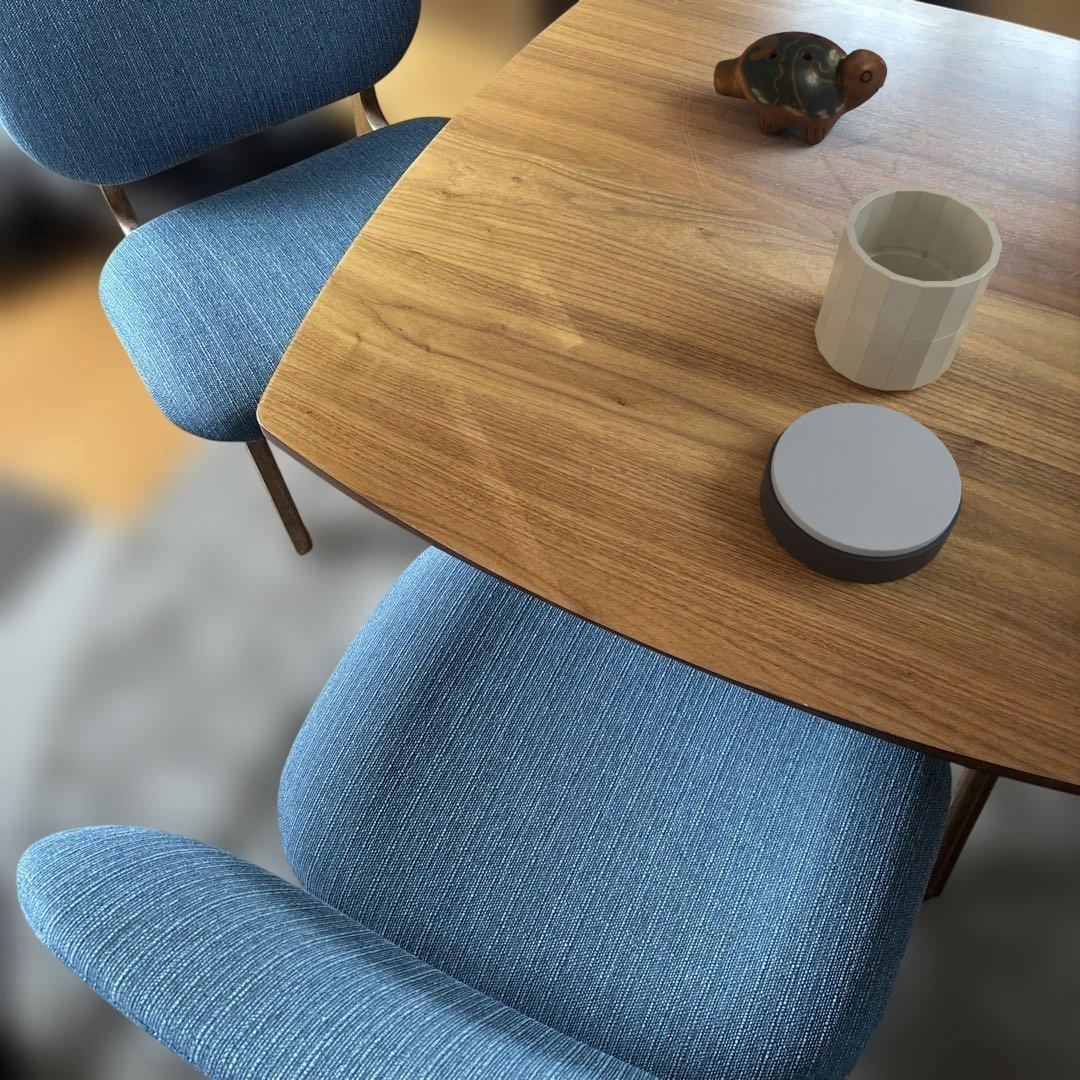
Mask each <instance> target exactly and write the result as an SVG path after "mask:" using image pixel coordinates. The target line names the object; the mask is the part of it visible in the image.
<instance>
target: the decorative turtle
mask: <svg viewBox="0 0 1080 1080" xmlns="http://www.w3.org/2000/svg"><path fill="white" fill-rule="evenodd" d="M887 76H888V66H887V63H886V61H885V60H884V58H883V57H882V56H880V55H879V54H878V53H876V52H875V51H874V50H873V51H872V50H870V49H866V48H857V49H854V50H852V51H851V52H849V53H847V52H846V51H845V50H844V49H843V48H842V47H841V46H840V45H838V44H837V43H836V42H834V41H833V40H831V39H829V38H827V37H825V36H823V35H820V34H818V33H817V34H816V33H812V32H807V31H799V30H798V31H797V30H796V31H793V30H791V31H782V32H781V31H780V32H775V33H771V34H768V35H765V36H764V35H763V37H760V38H758V39H757V40H754V41H753V42H752V43H750V44H749V46H747V47H746V48H745V49H744V50H743V52H742V53H741V54H740V55H739V56H737V57H735V58H729V59H723V60H720V61H718V62H717V63H716V65H715V67H714V70H713V87H714V91H715V92H716V93H717V94H718V95H721V96H724V97H728V98H734V99H741V100H742V99H743V100H746V101H747V102H748V104H749V105H750V107H751V108H752V109H753V111H754V112H755V117H756V122H757V125H758V128H759V130H760V131H761V133H763V134H764V135H766V136H770V135H773V134H776V133H778V132H780V131H782V130H784V129H786V128H792V127H793V128H795V129H797V130H798V131H799V133H800V135H801V136H802V138H803V139H804V141H805V142H806V143H807V145H810V146H817V145H819V144H820V143H821V142H823V141H824V140H825V138H826V137H827V136H828V134H829V133H830V131H832V129H833V127H834V126H835V125H836V123H837V122H838V121H839V120H840V119H841V118H842V117H843V116H844V115H845V114H847V113H849V112H851V111H853V110H855V109H857V108H859V107H861V105H863V104H865V103H866V102H867V101H869V100H870V99H872V97H874V95H876V94H878V92H879V91H880V89H881V88H883V87H884V86H885V83H886V79H887Z"/></svg>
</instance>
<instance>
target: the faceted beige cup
mask: <svg viewBox="0 0 1080 1080" xmlns="http://www.w3.org/2000/svg"><path fill="white" fill-rule="evenodd" d="M841 233H842V234H841V237H840V241H839V245H838V248H837V250H836V254H835V258H834V261H833V264H832V269H831V272H830V275H829V277H828V282H827V285H826V289H825V293H824V295H823V298H822V302H821V306H820V310H819V313H818V315H817V319H816V323H815V326H814V328H813V329H814V336H815V340H816V345H817V350H818V351H819V353H820V354H821V356H822V358H824V359H825V361H826V362H827V363H828V364H829V366H830V367H831V368H832V369H833V370H834V371H835V372H838V373H839V374H840V375H842V376H843V377H845V378H846V379H849V380H850V381H851V382H853V383H856V384H858V385H860V386H864V387H866V388H870V389H873V390H879V391H912V390H916V389H918V388H921V387H924V386H927V385H930V384H932V383H934V382H936V381H937V380H938V379H939V378H940V377H942V375H943V374H944V373H945V372H946V371H948V370H949V369H950V368H951V365H952V364H953V361H954V359H955V357H956V354H957V352H958V349H959V348H960V346H961V343H962V342H963V339H964V338H965V337H964V336H965V335H966V333H967V330H968V329H969V326H970V324H971V322H972V320H973V317H974V316H975V313H976V312H977V310H978V307H979V304H980V302H981V301H982V298H983V297H984V294H985V291H986V289H987V287H988V285H989V283H990V281H991V278H992V277H993V274H994V272H995V270H996V268H997V266H998V263H999V259H1000V257H1001V251H1002V247H1003V241H1002V238H1001V237H1000V234H999V230H998V228H997V225H996V224H995V222H994V221H993V220H992V219H991V218H990V217H989V216H988V215H987V214H986V213H985V212H984V211H983V210H982V209H981V208H980V207H979V206H978V205H977V204H975V203H973V202H971V201H969V200H967V199H965V198H963V197H961V196H959V195H957V194H955V193H954V192H951V191H947V190H942V189H938V188H934V187H930V186H926V185H894V186H893V185H892V186H889V187H886V188H883V189H880V190H876V191H873V192H869V193H868V194H866V195H865V196H864V197H862V198H861V199H860V200H858V201H857V202H856V203H855V204H854V205H852V206H851V208H850V210H849V213H848V216H847V218H846V222H845V224H844V227H843V231H842V232H841Z"/></svg>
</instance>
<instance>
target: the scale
mask: <svg viewBox="0 0 1080 1080" xmlns="http://www.w3.org/2000/svg"><path fill="white" fill-rule="evenodd" d="M962 502H963V489H962V481H961V475H960V472H959V469H958V466H957V464H956V461H955V459H954V458H953V455H952V453H951V452H950V450H949V449H948V448H947V447H946V445H945V444H944V443H943V441H941V439H939V437H938V436H937V435H936V434H935V433H934V432H932V431H931V430H930V429H929V428H927V427H926V426H925V425H923V424H922V423H921V422H919V421H917V420H915V418H912V417H911V416H909V415H906V414H905V413H902V412H899V411H897V410H894V409H891V408H888V407H885V406H880V405H876V404H870V403H863V402H841V403H833V404H829V405H825V406H821V407H817V408H816V409H813V410H810V411H808V412H806V413H805V414H802V415H801V416H800V417H798V418H796V419H795V420H794V421H793V422H791V423H790V425H788V426H787V427H786V428H785V429H784V430H783V431H782V432H781V433H780V434H779V435H778V437H777V438H776V439H775V441H774V442H773V444H772V446H771V448H770V451H769V453H768V456H767V460H766V463H765V467H764V471H763V474H762V478H761V482H760V487H759V504H760V509H761V514H762V516H763V517H762V518H763V519H764V522H765V524H766V526H767V528H768V529H769V531H770V533H771V535H772V536H773V537H774V539H775V540H776V541H777V543H778V544H779V545H780V546H781V547H782V548H783V549H784V551H786V552H787V553H788V554H789V555H790V556H791V557H793V558H794V559H795V560H797V561H798V562H800V563H801V564H802V565H803V566H805V567H807V568H809V569H811V570H813V571H815V572H817V573H818V574H821V575H824V576H827V577H828V578H829V577H830V578H833V579H836V580H838V581H839V580H840V581H843V582H849V583H857V584H882V583H888V582H889V583H890V582H893V581H897V580H901V579H904V578H907V577H908V576H911V575H913V574H915V573H917V572H919V571H920V570H923V568H924V567H926V566H928V564H929V563H931V562H932V561H933V560H934V559H935V558H936V556H937V555H938V554H939V553H940V552H941V550H942V548H943V546H945V543H946V541H947V539H948V537H950V535H951V532H952V531H953V529H954V527H955V525H956V524H957V522H958V519H959V516H960V513H961V510H962V504H963V503H962Z"/></svg>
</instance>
